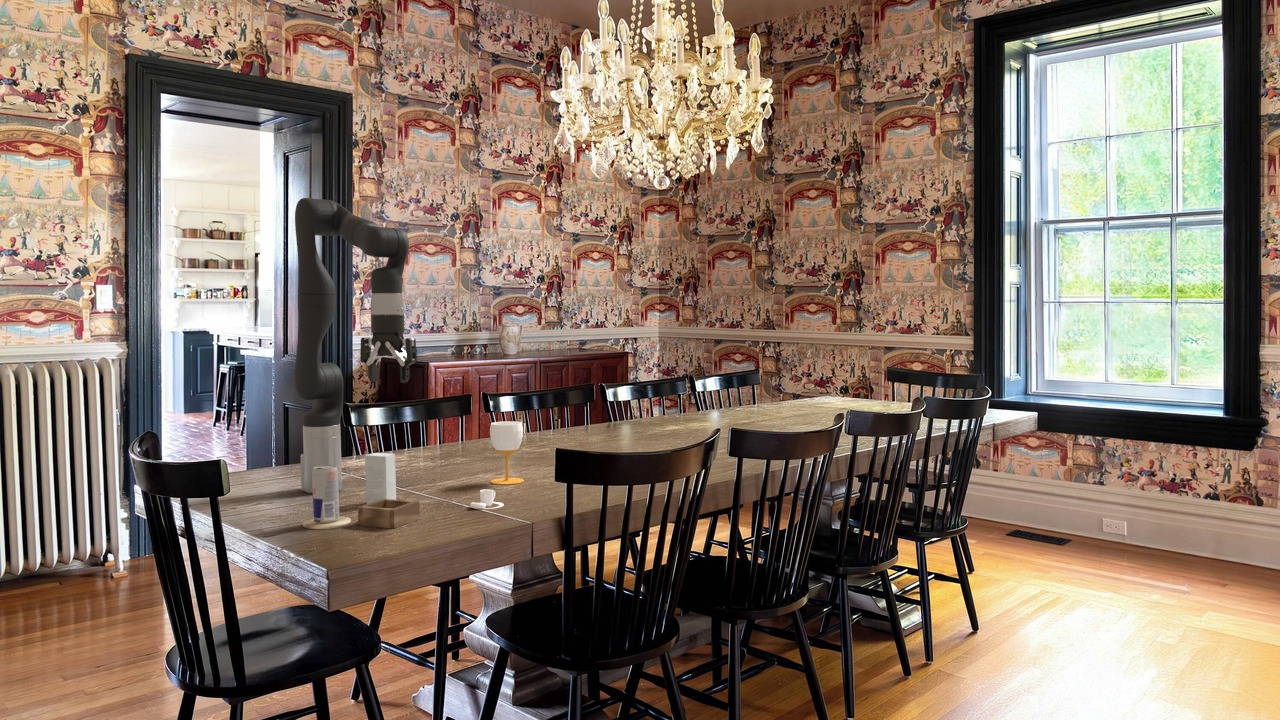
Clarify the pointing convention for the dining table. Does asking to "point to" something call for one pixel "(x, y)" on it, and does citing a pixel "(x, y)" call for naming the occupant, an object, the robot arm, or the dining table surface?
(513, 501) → the dining table surface
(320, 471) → the energy drink
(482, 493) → the teacup and saucer
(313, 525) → the cork coaster
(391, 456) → the skincare box
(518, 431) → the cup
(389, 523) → the walnut holder
